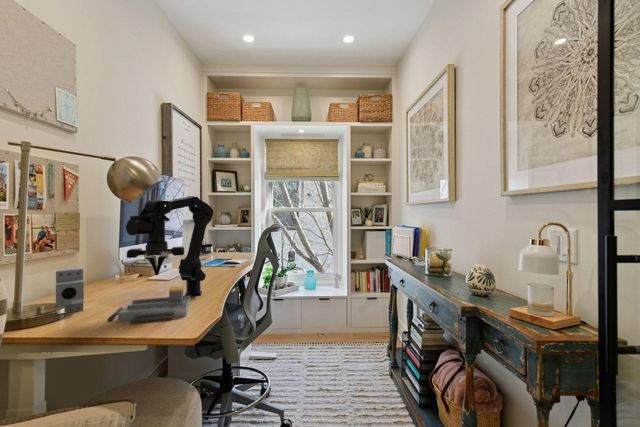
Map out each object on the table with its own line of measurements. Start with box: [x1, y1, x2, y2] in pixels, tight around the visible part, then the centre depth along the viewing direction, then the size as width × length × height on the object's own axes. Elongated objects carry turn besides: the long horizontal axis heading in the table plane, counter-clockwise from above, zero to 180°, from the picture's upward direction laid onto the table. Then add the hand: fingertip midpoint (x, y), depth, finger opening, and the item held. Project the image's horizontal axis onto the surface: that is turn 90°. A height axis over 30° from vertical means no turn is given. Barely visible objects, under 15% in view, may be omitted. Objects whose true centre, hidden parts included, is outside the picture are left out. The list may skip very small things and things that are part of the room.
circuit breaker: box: [55, 266, 85, 314], centre depth 111 cm, size 8×14×15 cm, turn 39°
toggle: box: [168, 285, 184, 302], centre depth 112 cm, size 5×4×5 cm
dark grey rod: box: [107, 306, 124, 322], centre depth 107 cm, size 12×1×1 cm, turn 18°
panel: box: [117, 295, 191, 323], centre depth 110 cm, size 16×20×4 cm
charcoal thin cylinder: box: [129, 316, 173, 325], centre depth 100 cm, size 12×1×1 cm, turn 108°
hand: (157, 275), depth 117 cm, fingers closed
